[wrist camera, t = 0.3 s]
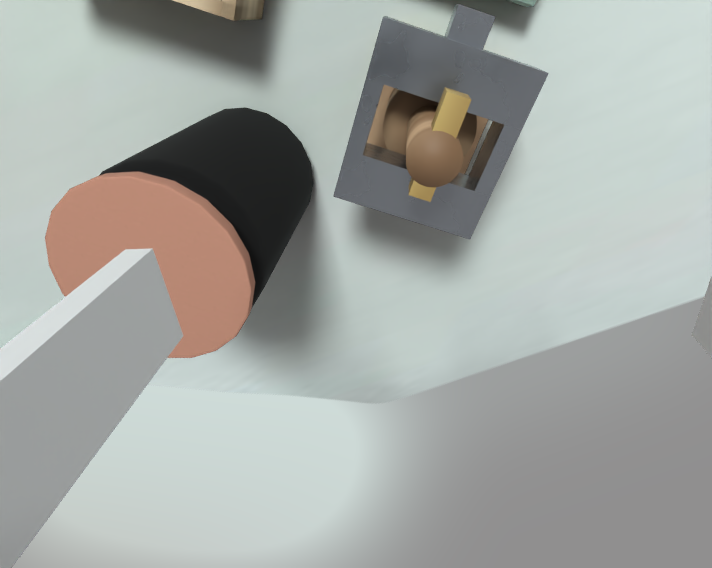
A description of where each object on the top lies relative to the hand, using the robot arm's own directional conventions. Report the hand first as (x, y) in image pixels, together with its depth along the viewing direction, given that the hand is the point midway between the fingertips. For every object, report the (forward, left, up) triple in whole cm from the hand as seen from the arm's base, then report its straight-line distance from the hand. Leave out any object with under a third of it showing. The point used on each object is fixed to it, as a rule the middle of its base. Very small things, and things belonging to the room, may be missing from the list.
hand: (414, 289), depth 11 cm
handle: (+1, 0, -27) cm, 27 cm away
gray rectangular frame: (+1, 0, -20) cm, 20 cm away
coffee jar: (-11, -9, -27) cm, 31 cm away
